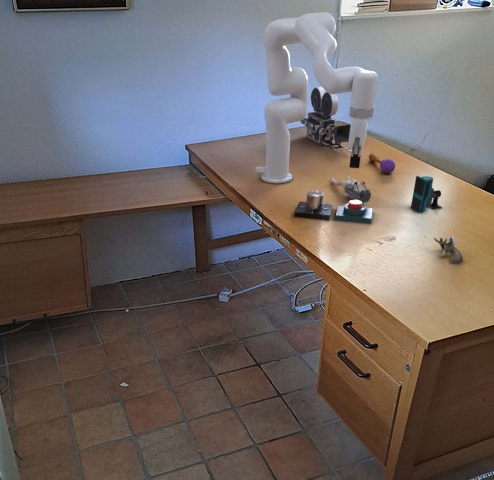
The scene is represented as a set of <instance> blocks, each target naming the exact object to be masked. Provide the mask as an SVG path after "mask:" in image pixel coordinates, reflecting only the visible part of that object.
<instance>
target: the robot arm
mask: <svg viewBox="0 0 494 480" xmlns="http://www.w3.org/2000/svg"><path fill="white" fill-rule="evenodd" d="M336 28H337V25H336V19H335V18H334V16H333V15H332V14H331V13H329V12H327V11H321V12H309V13H304V14H302V15H300V16H299V17H288V18H287V17H286V18H279V19H276V20H273V21H271V22H270V23H269V24H268V25H266V28H265V31H264V34H263V41H264V47H265V48H264V49H265V53H266V60H267V61H266V69H267V71H266V72H267V73H266V74H267V90H268V92H269V94H270V95H271V96H274V97H278V96H280V97H281V96H287V95H289V97H284V98H277V99H274V100H271V101H269V102H268V103H267V104H266V105H265V106H264V111H263V114H264V115H263V116H264V123H265V165H264V166H255V167H254V172H256V174H261V177H260V178H261V180H262V181H264V182H266V183H269V184H285V183H289V182H290V181H292V180H293V175H292V174H291V173H290V171H289V170H290V168H289V167H290V153H291V152H290V151H291V150H290V149H291V133H290V130H289V129H288V127H287V125H288V124H292V123H297V122H301V120H303V119H304V118H306V117H307V116H308V109H309V79H308V74H307V73H306V71H305V69H303V68H302V67H300V66H291V56H290V52H289V50H288V49H287V47H286V45H296V44H302V45H303V46H304V47H305V48H306V49H307V51H308V52H309V53H310V55H311V57H313V62H312V69H313V74H314V78H315V79H316V81H317V82H318V83H319V85H320V87H323V89H324V90H325V92H328V93H330V94H336V95H340V94H344V93H351V94H350V104H349V112H348V118H350V119H351V121H350V125H351V126H350V134H349V142H347V149H349V150H351V151H352V153H351V154H350V160H349V166H348V167H349V168H350V169H359V168H360V165H361V156H362V155H361V152H362V150H363V149H364V147H365V146H364V145H365V143H366V142H365V141H366V138H367V132H368V127H369V121H370V120H372V119H373V117H374V110H375V105H376V104H375V103H376V97H377V88H378V81H379V74H378V73H377V72H375V71H373V70H366V69H364V68H363V67H360V66H355V65H354V66H347V67H339V68H333V66H332V65H331V64H330V62H329V61H328V60H329V59H330V58H331V57H332V56H333V54H334V53H335V52H336V50H337V40H336V39H335V37H333V36H334V34H335V32H336Z"/></svg>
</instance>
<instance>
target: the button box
mask: <svg viewBox="0 0 494 480" xmlns="http://www.w3.org/2000/svg"><path fill="white" fill-rule="evenodd" d="M348 206H349V202H347V203H345V204H344V205H339V204H338V205H337V208H336V212H335V217H334V218H335V219H334V221H337V222H346V223H347V222H348V223H356V224H367V225H371V224H372V218H373V210H374V209H373V208H372V207H371V208H370V207H367V206H366V205H365V204H364V203H362V208H361V209H357V210H356V209H351V208H349V207H348Z"/></svg>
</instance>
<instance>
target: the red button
mask: <svg viewBox="0 0 494 480" xmlns="http://www.w3.org/2000/svg"><path fill="white" fill-rule="evenodd" d="M348 203H349V206H348V207H349V208H351V209H356V210H357V209H361V208H362V204H363V203H362V202H361V201H360V200H352V199H350V200H349V201H348Z"/></svg>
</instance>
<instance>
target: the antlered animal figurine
mask: <svg viewBox="0 0 494 480" xmlns="http://www.w3.org/2000/svg"><path fill="white" fill-rule="evenodd" d="M433 240H434V241H435V242H436V243H438V244H439V246H440V248H441V250H442V252H441V255H440V256H439V257H440V258H442V257H444V256H446V254H450V262H451V263H452V264H454V265H459V264H461V263H462V262H463V259H464V257H463V255H462V253H461V251H459V249H458V248H457V247H455V246H456V238H455V237H454V236H453V235H450V237H449V239H448V238H447V237H445V239H444V240H443V237H440V238H439V240H438V239H437V238H436V237H433ZM447 241H449V242H447Z"/></svg>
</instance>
